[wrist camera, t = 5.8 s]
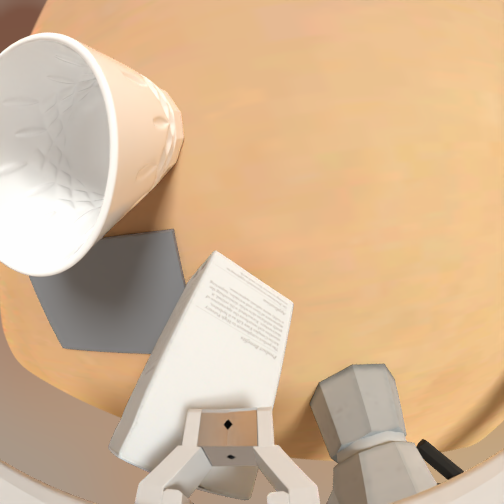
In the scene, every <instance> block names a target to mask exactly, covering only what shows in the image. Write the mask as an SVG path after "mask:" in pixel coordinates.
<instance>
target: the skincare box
mask: <svg viewBox="0 0 504 504" xmlns="http://www.w3.org/2000/svg"><path fill="white" fill-rule="evenodd" d="M293 306H294V304H293V302H292V301H290V300H289V299H287V298H286V297H284V296H283V295H281V294H280V293H278V292H277V291H275V290H274V289H272V288H271V287H269V286H268V285H266V284H265V283H263V282H262V281H260V280H259V279H257V278H256V277H255V276H253V275H252V274H250V273H249V272H247V271H246V270H244V269H243V268H241V267H240V266H238V265H237V264H235V263H234V262H232V261H231V260H230V259H228V258H227V257H225V256H224V255H222V254H221V253H219V252H218V251H214V252H212V254H211V255H210V256H209V257H208V258H207V260H206V261H205V262H204V263H203V264H202V265H201V267H200V268H199V269H198V270H197V271H196V273H195V274H194V275H193V276H192V277H191V279H190V280H189V281H188V283H187V285H186V287H185V289H184V291H183V293H182V295H181V297H180V299H179V301H178V303H177V305H176V306H175V308H174V310H173V312H172V314H171V316H170V318H169V320H168V322H167V324H166V326H165V328H164V330H163V331H162V333H161V335H160V337H159V339H158V341H157V343H156V345H155V347H154V349H153V351H152V353H151V355H150V357H149V359H148V362H147V364H146V366H145V368H144V370H143V372H142V374H141V376H140V378H139V380H138V382H137V384H136V386H135V388H134V390H133V393H132V395H131V397H130V399H129V401H128V403H127V405H126V408H125V410H124V412H123V415H122V418H121V419H120V421H119V423H118V425H117V427H116V429H115V432H114V434H113V436H112V438H111V442H110V444H109V450H110V451H111V452H112V453H113V454H114V455H115V456H116V457H118V458H120V459H122V460H124V461H126V462H128V463H130V464H132V465H134V466H136V467H138V468H140V469H143V470H145V471H147V472H152V471H153V470H154V469H155V468H156V467H157V466H158V465H159V464H160V463H161V462H162V461H163V460H164V459H165V458H166V457H167V456H168V455H169V454H170V453H171V452H172V451H173V450H174V449H175V448H176V447H177V446H182V441H183V435H184V429H185V423H186V417H187V412H188V410H189V409H239V408H254V407H257V408H259V407H272V410H273V406H274V401H275V397H276V392H277V388H278V383H279V379H280V374H281V369H282V364H283V359H284V354H285V348H286V343H287V338H288V333H289V327H290V322H291V317H292V312H293ZM257 472H258V466H212V469H211V470H210V471H209V473H208V474H207V475H206V477H205V478H204V479H203V481H202V482H201V483H200V484H199V486H198V487H197V488H196V489H198V490H201V491H205V492H209V493H213V494H217V495H221V496H225V497H230V498H235V499H241V500H249V499H250V498H251V495H252V492H253V487H254V483H255V480H256V476H257Z"/></svg>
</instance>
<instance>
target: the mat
mask: <svg viewBox="0 0 504 504" xmlns="http://www.w3.org/2000/svg"><path fill="white" fill-rule="evenodd" d="M29 277H30V280H31V282H32V285H33V287H34V290H35V292H36V294H37V297H38V299H39V301H40V304H41V306H42V308H43V310H44V312H45V314H46V316H47V319H48V321H49V323H50V325H51V327H52V329H53V331H54V332H55V334H56V336H57V338H58V340H59V342H60V344H61V346H62V347H63V348H66V349H76V350H87V351H100V352H117V353H141V354H151V353H152V351H153V349H154V347H155V345H156V343H157V341H158V339H159V337H160V335H161V333H162V331H163V330H164V328H165V326H166V324H167V322H168V320H169V318H170V316H171V314H172V312H173V310H174V308H175V306H176V305H177V303H178V301H179V299H180V297H181V295H182V293H183V291H184V289H185V287H186V284H185V280H184V275H183V271H182V267H181V262H180V257H179V253H178V248H177V243H176V238H175V233H174V229H169V230H160V231H152V232H144V233H136V234H128V235H120V236H112V237H105V238H101V239H100V240H99V241H98V242H97V243H96V244H95V245H94V246H93V247H92V248H91V249H90V250H89V251H88V253H87V254H86V255H85V256H84V257H83V258H82V259H81V260H80V261H79V262H77V263H76V264H75V265H74V266H72V267H71V268H69V269H67V270H66V271H64V272H61V273H59V274H56V275H52V276H46V277H36V276H29Z"/></svg>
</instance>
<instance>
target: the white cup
mask: <svg viewBox="0 0 504 504" xmlns="http://www.w3.org/2000/svg"><path fill="white" fill-rule="evenodd" d="M183 140H184V133H183V125H182V117H181V112H180V110H179V109H178V107H177V106H176V104H175V103H174V101H173V100H172V98H171V97H170V95H169V94H168V93H167V92H166V91H164V90H162V89H160V88H159V87H157V86H156V85H155V84H154V83H153V82H152V81H150V80H149V79H148V78H146V77H144V76H143V75H141V74H140V73H138V72H137V71H135V70H134V69H132V68H130V67H128V66H126V65H124V64H123V63H121V62H119V61H117V60H115V59H113V58H111V57H109V56H107V55H105V54H103V53H101V52H99V51H97V50H95V49H93V48H91V47H89V46H87V45H85V44H83V43H81V42H79V41H77V40H75V39H73V38H71V37H68V36H65V35H62V34H58V33H39V34H35V35H31V36H28V37H25V38H23V39H21V40H19V41H17V42H15V43H14V44H12V45H11V46H9V47H8V48H6V49H5V50H4V51H3V52H1V53H0V262H2V263H3V264H5V265H6V266H8V267H9V268H11V269H13V270H15V271H17V272H19V273H22V274H25V275H29V276H36V277H46V276H52V275H56V274H59V273H61V272H64V271H66V270H67V269H69V268H71V267H72V266H74V265H75V264H76V263H77V262H79V261H80V260H81V259H82V258H83V257H84V256H85V255H86V254H87V253H88V251H89V250H90V249H91V248H92V247H93V246H94V245H95V244H96V243H97V242H98V241H99V240H100V239H101V238H102V237H103V236H104V235H105V234H106V233H107V232H108V231H109V230H110V229H111V228H112V227H113V226H114V225H115V224H116V223H117V222H119V221H120V220H121V219H122V218H123V217H124V216H125V215H126V214H127V213H128V212H129V211H130V210H131V209H133V208H134V207H135V206H136V205H137V204H138V203H139V202H140V201H141V200H142V199H143V198H144V197H145V196H146V195H147V194H148V193H149V192H150V191H151V190H152V189H153V188H154V187H155V186H156V185H157V184H158V183H159V182H160V181H161V179H162V178H163V177H164V176H165V175H166V174H167V173H168V171H169V170H170V169H171V168H172V167H173V166H174V165H175V164H176V162H177V159H178V156H179V152H180V149H181V146H182V143H183Z"/></svg>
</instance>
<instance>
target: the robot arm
mask: <svg viewBox="0 0 504 504" xmlns="http://www.w3.org/2000/svg"><path fill="white" fill-rule="evenodd" d="M212 466H258V468H259V469H260V470H261V472H262V473H263V474H264V475H265V477H266V478H267V479H268V481H269V482H270V484H271V485H272V486H273V487H274V488H275V490H276V491H277V492H271V493H269V494H268V495H267V504H320V500H319V494H318V487H317V485H316V484H315V483H314V482H313V481H312V480H311V479H310V478H309V477H308V476H307V475H306V474H305V473H304V472H303V471H302V470H301V469H300V468H299V467H298V466H297V465H296V464H295V463H294V461H293V460H292V459H291V458H290V457H289V456H288V455H287V454H286V453H285V452H284V451H283V449H282V448H281V447H280V446H279V445H275V443H274V429H273V417H272V407H259V408H257V407H254V408H239V409H189V410H188V412H187V417H186V423H185V429H184V435H183V441H182V446H177V447H176V448H175V449H174V450H173V451H172V452H171V453H170V454H169V455H168V456H167V457H166V458H165V459H164V460H163V461H162V462H161V463H160V464H159V465H158V466H157V467H156V468H155V469H154V470H153V471H152V472H150V474H148V475H147V476H146V477H145V478H144V479H143V480H142V481H141V482H140V483H139V486H138V491H137V495H136V500H135V504H194V503H192V502H191V501H190V500H189V499H188V498H189V497H190V496H191V494H192V493H193V492H194V491H195V489H196V488H197V487H198V486H199V484H200V483H201V482H202V481H203V479H204V478H205V477H206V475H207V474H208V473H209V471H210V470H211V469H212ZM0 504H97V503H94V502H91V501H88V500H85V499H82V498H80V497H77V496H74V495H71V494H69V493H67V492H64V491H62V490H59V489H57V488H54V487H52V486H50V485H48V484H46V483H43V482H41V481H39V480H37V479H35V478H33V477H31V476H29V475H27V474H25V473H23V472H22V471H19V470H18V469H16V468H14V467H13V466H11V465H9V464H7V463H6V462H4V461H2V460H1V459H0ZM389 504H504V449H502V450H501V451H499V452H498V453H496V454H494V455H493V456H491V457H490V458H488V459H486V460H485V461H483V462H481V463H480V464H478V465H476V466H474V467H472V468H471V469H469V470H467V471H465V472H463V473H461V474H459V475H457V476H455V477H453V478H451V479H449V480H447V481H445V482H443V483H441V484H438V485H436V486H434V487H432V488H429V489H427V490H424V491H422V492H419V493H417V494H414V495H412V496H409V497H406V498H403V499H401V500H398V501H395V502H392V503H389Z"/></svg>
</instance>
